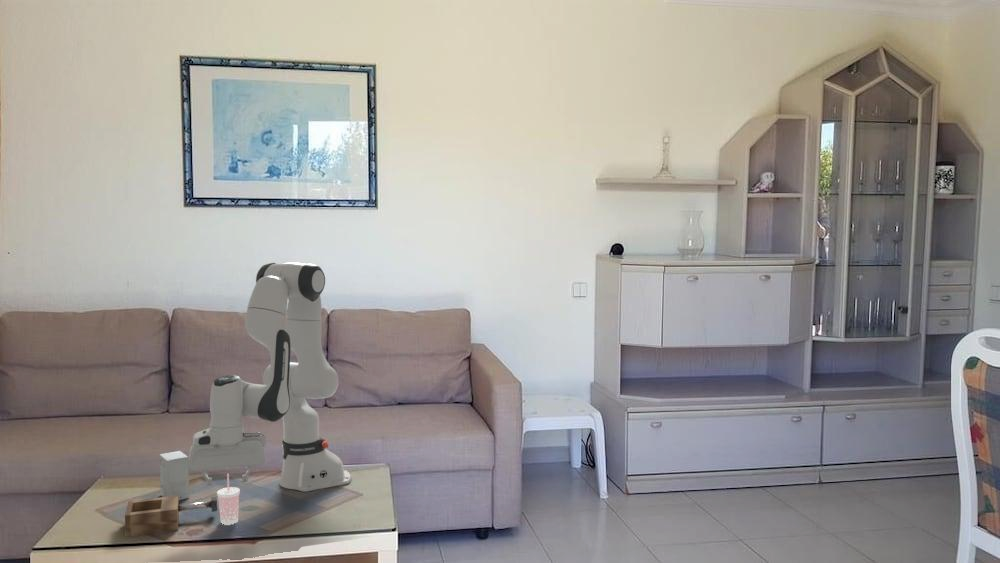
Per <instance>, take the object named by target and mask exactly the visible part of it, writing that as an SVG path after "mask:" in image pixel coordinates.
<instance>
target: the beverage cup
mask: <svg viewBox="0 0 1000 563" xmlns="http://www.w3.org/2000/svg"><path fill="white" fill-rule="evenodd" d="M226 480H227V485H226V486H227V487H224V488H220V489H219V490H217V492H216V496H217V500H218V507H219V518H220V524H221V523H222V524H221V525H223V524H224V525H223V526H231V524H232V525H235V524H237V523H238V522H239V508H240V507H239V502H240V494H241V493H240V492H241V490H240V488H239V487H237V486H236V487H235V486H234V487H233V486H230V474H229V473H227V474H226ZM234 523H235V524H234Z"/></svg>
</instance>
